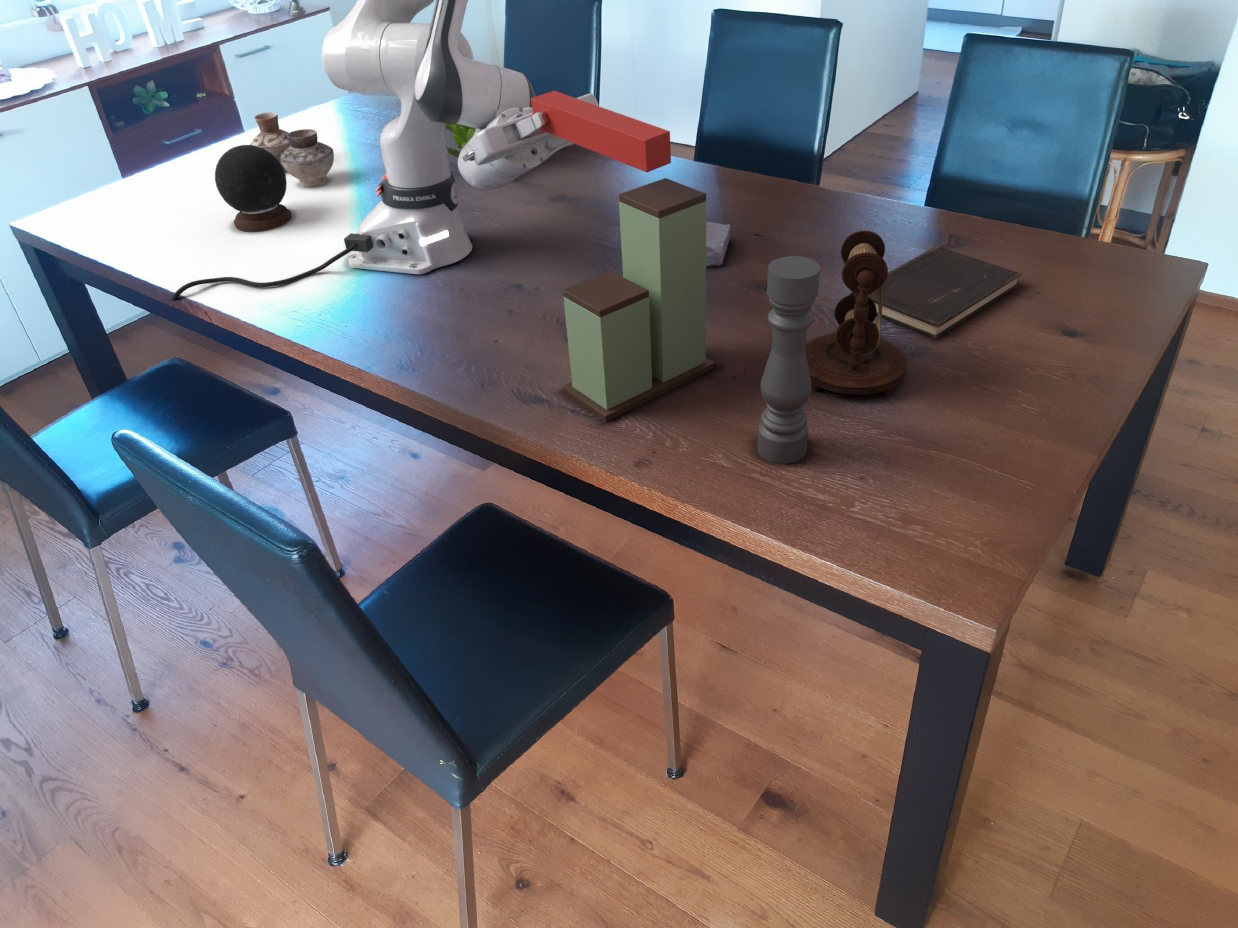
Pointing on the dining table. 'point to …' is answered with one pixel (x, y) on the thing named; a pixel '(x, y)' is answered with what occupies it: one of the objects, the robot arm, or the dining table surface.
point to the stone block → (716, 243)
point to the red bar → (605, 131)
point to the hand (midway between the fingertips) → (560, 112)
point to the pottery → (295, 150)
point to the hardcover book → (941, 290)
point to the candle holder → (787, 359)
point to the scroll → (858, 328)
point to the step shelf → (643, 305)
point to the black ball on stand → (253, 187)
